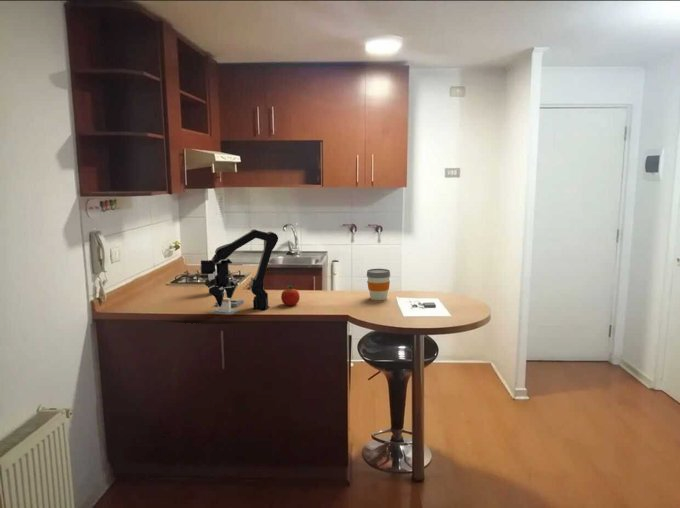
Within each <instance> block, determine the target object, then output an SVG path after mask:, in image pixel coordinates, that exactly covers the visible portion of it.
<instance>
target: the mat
mask: <svg viewBox="0 0 680 508" xmlns="http://www.w3.org/2000/svg"><path fill="white" fill-rule="evenodd" d="M239 311H240V309H237V308H236V309H233V308H231V311H230V312H219V311H218V308H216V309H214V310H213V311H211V312H209V314H215V315H216V314H217V315H218V314H219V315H230V316H231V315H234V314H236V313H238V312H239Z"/></svg>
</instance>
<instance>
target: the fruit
mask: <svg viewBox="0 0 680 508" xmlns="http://www.w3.org/2000/svg"><path fill="white" fill-rule="evenodd" d="M286 287H287V288H288V289H286V288H285V289H284V290H283V291H282V293H281V297H280V299H281V301H282V303H283V304H284V305H285V306H289V307H290V306H291V307H292V306H296V305H297V304H298V303H299V301H300V293H299V291H298V289H295V288H293V285H287V286H286Z"/></svg>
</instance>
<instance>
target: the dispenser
mask: <svg viewBox="0 0 680 508" xmlns="http://www.w3.org/2000/svg"><path fill="white" fill-rule="evenodd" d="M244 301H245V300H244V299H231V308H238V307H240V306H241V305H243V304H244ZM215 307H218V303H217V301H216V302H215Z"/></svg>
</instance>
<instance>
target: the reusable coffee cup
mask: <svg viewBox="0 0 680 508" xmlns="http://www.w3.org/2000/svg"><path fill="white" fill-rule="evenodd" d="M366 271H367V272H366V277H367V281H366V283H367V290H368V291H369V297H370V300H372V301H373V300H374V301H385V300H387V298H388V292H389V290H390V282H391V281H390V278H391V271H390V269H386V268H370V269H368V270H366Z"/></svg>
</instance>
